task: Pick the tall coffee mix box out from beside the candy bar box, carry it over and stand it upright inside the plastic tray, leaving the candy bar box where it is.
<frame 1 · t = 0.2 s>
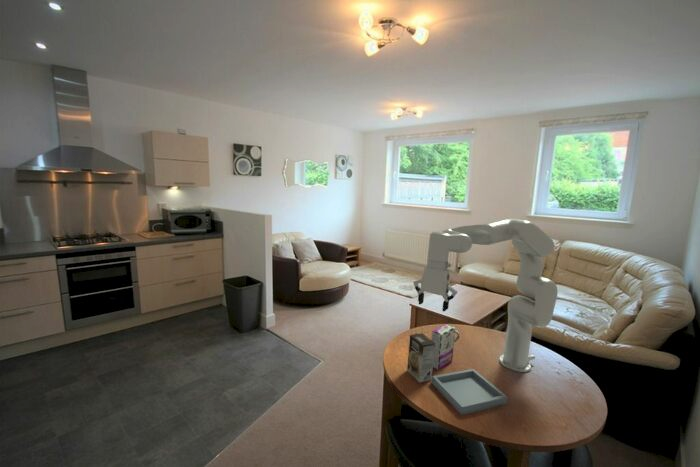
hand: (432, 306, 121), 31 cm above the table, tool pointing down, fingers open, 9 cm apart
candy bar box: (440, 364, 138), on the table
tray: (467, 393, 118), on the table
coffee box: (419, 375, 128), on the table
mug: (444, 348, 151), on the table
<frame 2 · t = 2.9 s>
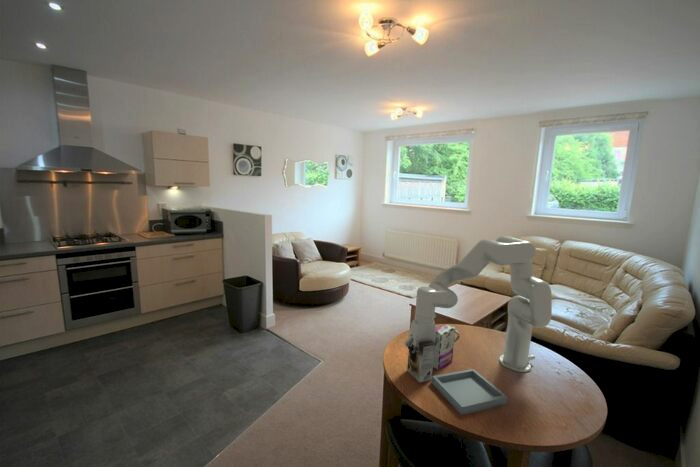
hand: (420, 358, 127), 7 cm above the table, tool pointing down, fingers closed on coffee box, 6 cm apart
coffee box: (419, 375, 128), on the table, touching gripper
everything else where it was.
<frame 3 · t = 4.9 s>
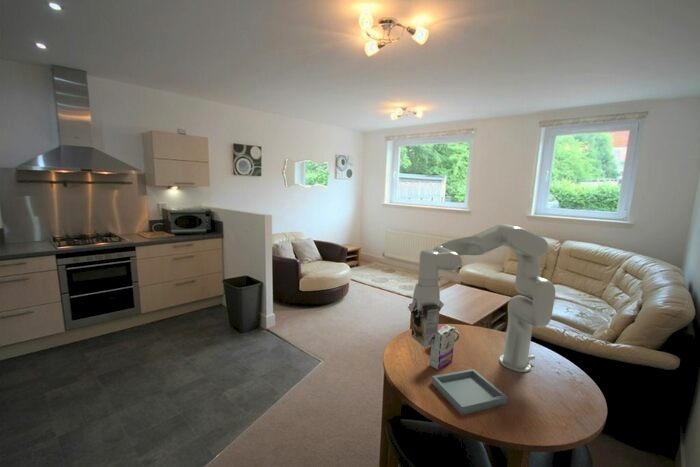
hand: (424, 323, 125), 22 cm above the table, tool pointing down, fingers closed on coffee box, 6 cm apart
coffee box: (423, 341, 126), point 15 cm above the table, touching gripper
everything else where it was.
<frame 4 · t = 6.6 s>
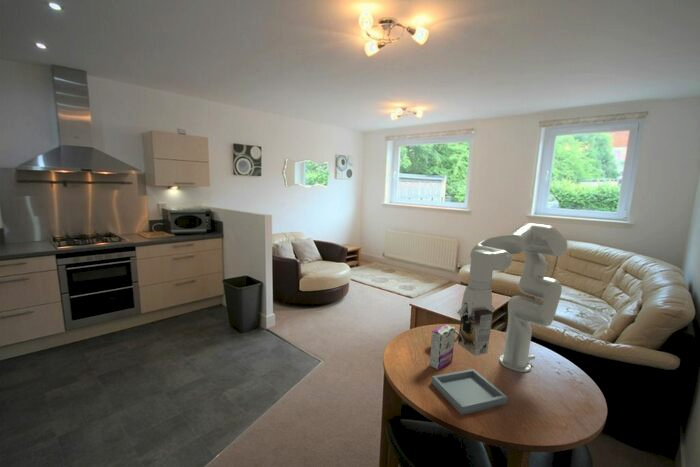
hand: (474, 330, 115), 25 cm above the table, tool pointing down, fingers closed on coffee box, 6 cm apart
coffee box: (472, 349, 116), point 18 cm above the table, touching gripper
everything else where it was.
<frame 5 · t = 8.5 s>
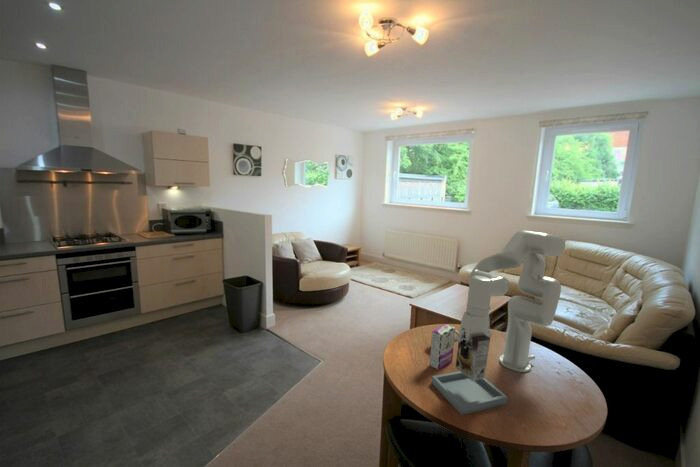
hand: (471, 355, 116), 16 cm above the table, tool pointing down, fingers closed on coffee box, 6 cm apart
coffee box: (469, 373, 117), point 8 cm above the table, touching gripper
everything else where it was.
when the fingers open (10 cm above the table, at t = 10.2 s): coffee box drops 1 cm, resting on tray.
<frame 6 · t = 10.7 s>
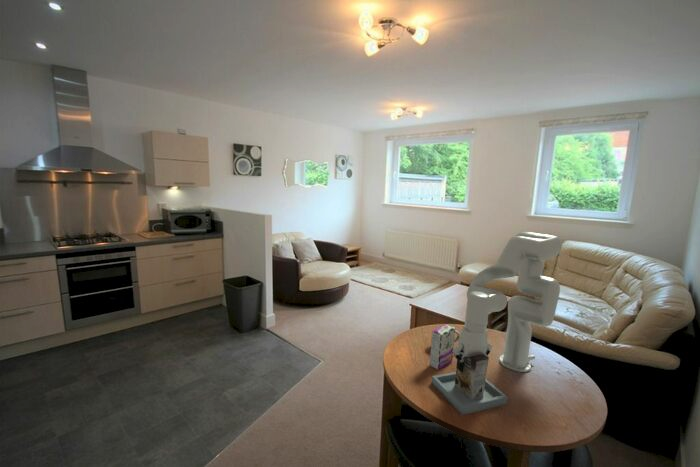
hand: (470, 368, 117), 10 cm above the table, tool pointing down, fingers open, 9 cm apart
coffee box: (468, 391, 118), point 1 cm above the table, touching tray
everything else where it was.
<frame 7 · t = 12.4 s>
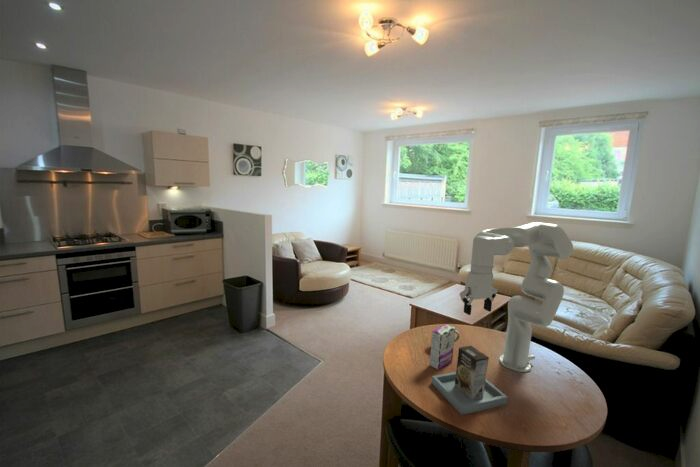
hand: (477, 311, 119), 30 cm above the table, tool pointing down, fingers open, 9 cm apart
nothing on the table moved.
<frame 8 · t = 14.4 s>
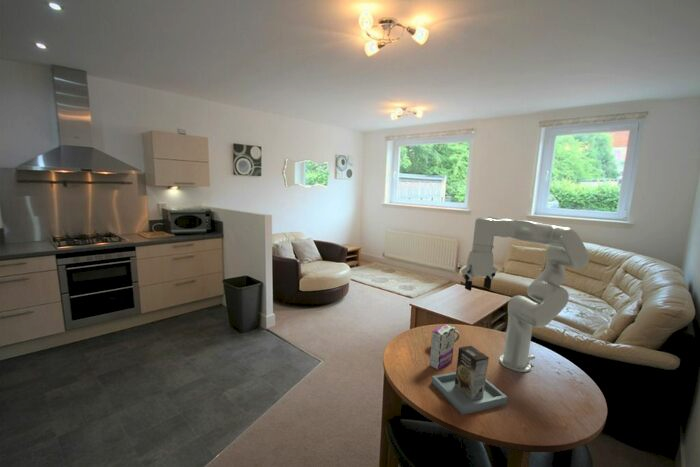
hand: (477, 288, 129), 36 cm above the table, tool pointing down, fingers open, 9 cm apart
nothing on the table moved.
at the end: coffee box inside the target area on the tray (0.4 cm from its centre), point 0.6 cm above the tray's base; coffee box tilted 0°; candy bar box moved 0.2 cm from its start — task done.
